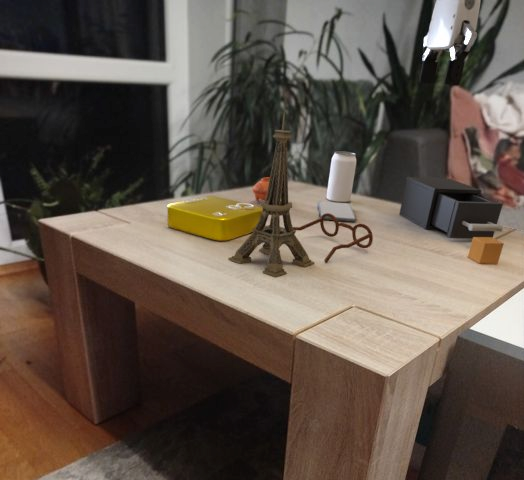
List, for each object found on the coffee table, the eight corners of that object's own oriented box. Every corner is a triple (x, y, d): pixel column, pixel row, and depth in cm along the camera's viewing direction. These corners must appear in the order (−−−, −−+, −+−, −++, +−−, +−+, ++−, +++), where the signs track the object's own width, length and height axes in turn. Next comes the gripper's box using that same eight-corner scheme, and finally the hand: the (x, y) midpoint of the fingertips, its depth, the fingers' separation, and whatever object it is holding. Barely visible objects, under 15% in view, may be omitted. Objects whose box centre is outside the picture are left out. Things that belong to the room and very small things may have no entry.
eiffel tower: (268, 248, 93) (280, 98, 81) (314, 263, 87) (334, 104, 75) (228, 259, 86) (235, 96, 74) (275, 277, 80) (291, 103, 68)
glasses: (371, 252, 96) (376, 226, 93) (325, 263, 88) (329, 235, 85) (321, 234, 104) (324, 210, 102) (275, 243, 96) (277, 217, 94)
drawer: (504, 243, 105) (515, 208, 101) (460, 243, 102) (470, 207, 99) (461, 222, 119) (469, 191, 115) (421, 221, 117) (429, 189, 113)
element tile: (210, 214, 112) (211, 192, 110) (266, 228, 105) (268, 205, 103) (163, 226, 101) (162, 202, 98) (221, 243, 94) (222, 217, 91)
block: (485, 257, 98) (491, 237, 97) (497, 263, 95) (504, 243, 93) (467, 256, 98) (473, 236, 96) (479, 263, 94) (485, 243, 92)
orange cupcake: (289, 206, 123) (286, 178, 120) (259, 213, 123) (255, 185, 119) (281, 197, 130) (277, 171, 126) (252, 204, 129) (247, 177, 125)
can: (351, 203, 133) (359, 155, 127) (327, 201, 132) (333, 153, 127) (348, 198, 138) (355, 152, 133) (325, 196, 138) (331, 150, 132)
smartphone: (320, 215, 114) (318, 200, 127) (319, 220, 115) (317, 204, 128) (356, 219, 114) (350, 203, 127) (355, 223, 115) (350, 207, 128)
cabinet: (470, 230, 117) (481, 190, 112) (425, 229, 114) (434, 188, 110) (440, 215, 128) (449, 178, 124) (399, 214, 126) (406, 176, 121)
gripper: (508, -24, 87) (479, 87, 95) (453, -12, 101) (432, 84, 109) (470, -31, 85) (444, 83, 93) (420, -17, 100) (401, 81, 108)
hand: (438, 83), depth 101 cm, fingers open, 9 cm apart
